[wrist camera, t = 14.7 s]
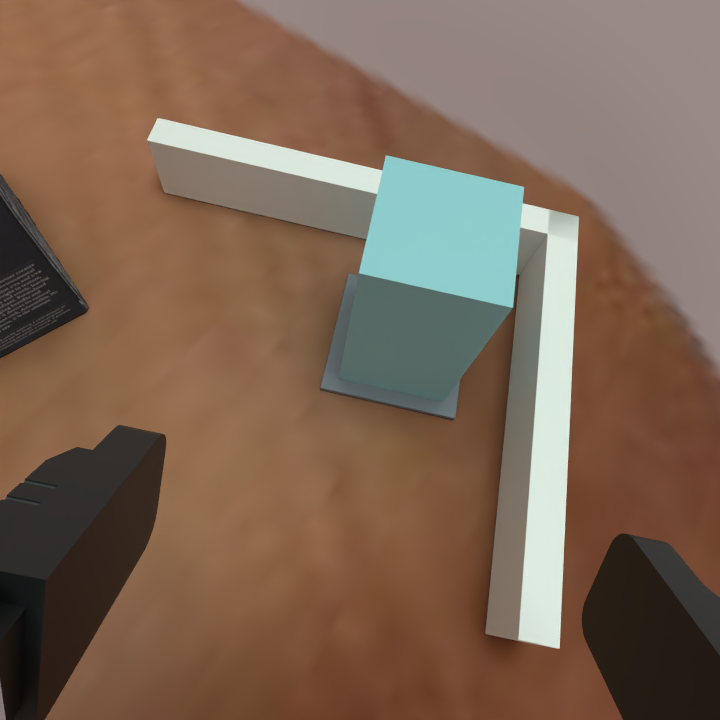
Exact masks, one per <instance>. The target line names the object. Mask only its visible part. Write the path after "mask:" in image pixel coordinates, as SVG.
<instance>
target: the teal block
mask: <svg viewBox="0 0 720 720" xmlns="http://www.w3.org/2000/svg"><path fill="white" fill-rule="evenodd" d="M523 192H524V187H521V186H517V185H513V184H508V183H504V182H500V181H495V180H491V179H486V178H482V177H478V176H473V175H469V174H465V173H460V172H456V171H452V170H447V169H443V168H439V167H434V166H430V165H426V164H421V163H417V162H412V161H408V160H404V159H399V158H395V157H391V156H386V158H385V162H384V167H383V171H382V175H381V180H380V184H379V188H378V193H377V197H376V201H375V206H374V210H373V214H372V219H371V223H370V227H369V232H368V236H367V240H366V245H365V249H364V253H363V258H362V262H361V266H360V271H359V275H358V280H357V286H356V291H355V296H354V301H353V306H352V311H351V317H350V322H349V327H348V332H347V337H346V343H345V348H344V353H343V358H342V363H341V368H340V374H339V379H343V380H348V381H352V382H357V383H361V384H366V385H370V386H375V387H379V388H384V389H388V390H393V391H397V392H402V393H406V394H411V395H415V396H420V397H424V398H429V399H434V400H438V401H444V400H445V399H446V397H447V396H448V395H449V393H450V392H451V391H452V389H453V388H454V387H455V385H456V384H457V383H458V381H459V380H460V379H461V377H462V376H463V374H464V373H465V372H466V370H467V369H468V368H469V366H470V365H471V364H472V362H473V361H474V360H475V358H476V357H477V356H478V354H479V353H480V352H481V350H482V349H483V348H484V346H485V345H486V344H487V342H488V341H489V340H490V338H491V337H492V335H493V334H494V333H495V331H496V330H497V329H498V327H499V326H500V325H501V323H502V322H503V321H504V319H505V318H506V317H507V315H508V314H509V313H510V311H511V310H512V309H513V302H514V291H515V280H516V269H517V258H518V247H519V236H520V225H521V214H522V203H523Z"/></svg>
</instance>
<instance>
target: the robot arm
mask: <svg viewBox="0 0 720 720" xmlns="http://www.w3.org/2000/svg"><path fill="white" fill-rule="evenodd" d="M165 450H166V437H165V435H164V434H160V433H155V432H151V431H146V430H141V429H137V428H132V427H127V426H123V425H118V426H117V427H115V428H114V429H113V430H112V431H111V432H110V433H109V434H108V435H107V436H106V437H105V438H104V439H103V440H102V441H101V442H100V443H99V444H98V445H97V446H96V447H95V448H94V449H93V450H89V449H84V448H79V447H76V448H74V449H71V450H69V451H66V452H64V453H62V454H59V455H57V456H55V457H52V458H50V459H48V460H46V461H45V462H44V463H42V464H41V465H40V466H39V467H38V468H37V469H36V470H35V471H34V472H32V473H31V474H30V475H29V476H28V477H27V478H26V479H25V482H24V483H20V484H19V485H18V486H17V487H16V488H14V489H13V490H12V491H11V492H10V493H9V494H8V495H7V497H6V499H5V500H1V501H0V720H45V718H46V717H47V715H48V713H49V712H50V710H51V708H52V706H53V705H54V703H55V701H56V700H57V698H58V696H59V695H60V693H61V691H62V689H63V688H64V686H65V684H66V683H67V681H68V679H69V678H70V676H71V674H72V673H73V671H74V669H75V667H76V666H77V664H78V662H79V661H80V659H81V657H82V656H83V654H84V652H85V650H86V649H87V647H88V645H89V644H90V642H91V640H92V639H93V637H94V635H95V633H96V632H97V630H98V628H99V627H100V625H101V623H102V622H103V620H104V618H105V616H106V615H107V613H108V611H109V610H110V608H111V606H112V605H113V603H114V601H115V599H116V598H117V596H118V594H119V593H120V591H121V589H122V588H123V586H124V584H125V582H126V581H127V579H128V577H129V576H130V574H131V572H132V571H133V569H134V567H135V565H136V564H137V562H138V560H139V559H140V557H141V555H142V554H143V552H144V550H145V548H146V546H147V544H148V541H149V539H150V536H151V533H152V530H153V527H154V523H155V519H156V514H157V508H158V500H159V493H160V486H161V479H162V472H163V464H164V457H165ZM582 628H583V634H584V637H585V640H586V642H587V644H588V647H589V649H590V651H591V653H592V655H593V657H594V659H595V661H596V663H597V666H598V668H599V670H600V672H601V674H602V676H603V678H604V680H605V682H606V684H607V687H608V689H609V691H610V693H611V695H612V697H613V699H614V701H615V703H616V706H617V708H618V710H619V712H620V714H621V716H622V718H623V720H720V598H719V597H718V596H717V595H716V594H714V593H713V592H712V591H711V590H709V589H708V588H707V587H706V586H705V585H703V584H702V582H701V581H700V580H699V579H698V578H697V576H696V575H695V574H694V573H693V571H692V570H691V569H690V568H689V567H688V565H687V564H686V563H685V562H684V561H683V559H682V558H681V557H680V556H679V555H678V553H677V552H676V551H675V550H674V549H673V547H672V546H671V545H669V544H668V543H666V542H662V541H658V540H653V539H648V538H644V537H639V536H634V535H629V534H620V535H618V536H617V537H616V538H614V540H613V541H612V543H611V545H610V547H609V549H608V551H607V554H606V556H605V558H604V560H603V562H602V565H601V567H600V569H599V571H598V574H597V576H596V578H595V580H594V582H593V585H592V587H591V589H590V591H589V593H588V596H587V598H586V600H585V603H584V607H583V612H582Z"/></svg>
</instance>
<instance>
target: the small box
mask: <svg viewBox="0 0 720 720" xmlns="http://www.w3.org/2000/svg"><path fill="white" fill-rule="evenodd" d="M87 310H88V305H87V303H86V302H85V300H84V299H83V297H82V296H81V294H80V293H79V291H78V289H77V288H76V286H75V285H74V283H73V282H72V280H71V279H70V277H69V276H68V274H67V273H66V271H65V270H64V268H63V267H62V265H61V264H60V262H59V259H57V257H56V256H55V254H54V253H53V252H52V250H51V248H50V247H49V246H48V244H47V242H46V241H45V240H44V238H43V236H42V235H41V233H40V232H39V230H38V229H37V227H36V224H35V223H34V222H33V221H32V219H31V218H30V216H29V213H27V212H26V210H25V209H24V208H23V205H22V204H21V202H20V200H19V199H18V198H17V197H16V196H15V195H14V193H13V192H12V190H11V189H10V187H9V186H8V185H7V183H6V182H5V180H4V178H3V177H2V175H1V174H0V357H2V356H4V355H6V354H8V353H10V352H12V351H13V350H15V349H17V348H19V347H21V346H23V345H25V344H27V343H29V342H31V341H33V340H34V339H36V338H38V337H40V336H42V335H44V334H46V333H47V332H49V331H51V330H53V329H55V328H57V327H59V326H60V325H62V324H64V323H66V322H68V321H70V320H72V319H74V318H75V317H77V316H79V315H81V314H83V313H85V312H86V311H87Z"/></svg>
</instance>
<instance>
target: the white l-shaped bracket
mask: <svg viewBox="0 0 720 720" xmlns="http://www.w3.org/2000/svg"><path fill="white" fill-rule="evenodd" d="M147 141H148V145H149V148H150V151H151V154H152V157H153V160H154V163H155V166H156V169H157V172H158V175H159V179H160V182H161V185H162V188H163V191H164V193H168V194H172V195H176V196H181V197H185V198H189V199H194V200H198V201H202V202H207V203H211V204H215V205H220V206H224V207H228V208H233V209H237V210H241V211H245V212H250V213H254V214H258V215H263V216H267V217H271V218H276V219H280V220H284V221H289V222H293V223H297V224H302V225H306V226H310V227H314V228H319V229H323V230H327V231H332V232H336V233H340V234H345V235H349V236H353V237H358V238H362V239H366V240H367V236H368V232H369V227H370V223H371V219H372V214H373V210H374V206H375V201H376V197H377V193H378V188H379V184H380V180H381V175H382V170H378V169H373V168H369V167H365V166H361V165H356V164H352V163H348V162H343V161H339V160H335V159H331V158H326V157H322V156H318V155H314V154H309V153H305V152H301V151H296V150H292V149H288V148H284V147H279V146H275V145H271V144H267V143H262V142H258V141H254V140H249V139H245V138H241V137H237V136H232V135H228V134H224V133H220V132H215V131H211V130H207V129H203V128H198V127H194V126H190V125H185V124H181V123H177V122H173V121H168V120H164V119H160V118H158V119H157V121H156V123H155V125H154V127H153V129H152V131H151V133H150V135H149V138H148V140H147ZM578 222H579V217H578V216H574V215H570V214H566V213H561V212H557V211H553V210H548V209H544V208H540V207H536V206H531V205H527V204H523V203H522V214H521V225H520V236H519V247H518V258H517V269H516V274H517V275H519V285H518V296H517V306H516V317H515V327H514V338H513V348H512V359H511V369H510V380H509V390H508V401H507V411H506V422H505V432H504V443H503V453H502V464H501V474H500V485H499V495H498V506H497V516H496V527H495V537H494V548H493V558H492V569H491V579H490V590H489V600H488V611H487V621H486V632H485V634H488V635H493V636H497V637H502V638H506V639H511V640H515V641H520V642H525V643H531V644H536V645H542V646H547V647H552V648H558V649H559V647H560V625H561V602H562V580H563V558H564V535H565V513H566V491H567V468H568V446H569V424H570V401H571V379H572V357H573V334H574V312H575V290H576V267H577V245H578ZM357 280H358V275H355V274H350V273H349V274H348V278H347V282H346V286H345V290H344V294H343V298H342V303H341V307H340V311H339V315H338V319H337V323H336V327H335V331H334V335H333V339H332V343H331V347H330V351H329V355H328V359H327V363H326V367H325V371H324V375H323V379H322V383H321V387H320V390H324V391H328V392H332V393H337V394H341V395H346V396H350V397H354V398H359V399H363V400H368V401H372V402H376V403H381V404H385V405H390V406H394V407H398V408H403V409H407V410H412V411H416V412H420V413H425V414H429V415H434V416H438V417H443V418H447V419H451V420H454V419H455V414H456V407H457V400H458V392H459V385H460V380H459V381H458V383H457V384H456V385H455V387H454V388H453V389H452V391H451V392H450V393H449V395H448V396H447V397H446V399H445V400H444V401H438V400H434V399H429V398H424V397H420V396H415V395H411V394H406V393H402V392H397V391H393V390H388V389H384V388H379V387H375V386H370V385H366V384H361V383H357V382H352V381H348V380H343V379H339V374H340V368H341V363H342V358H343V353H344V348H345V343H346V337H347V332H348V327H349V322H350V317H351V311H352V306H353V301H354V296H355V291H356V286H357Z"/></svg>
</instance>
